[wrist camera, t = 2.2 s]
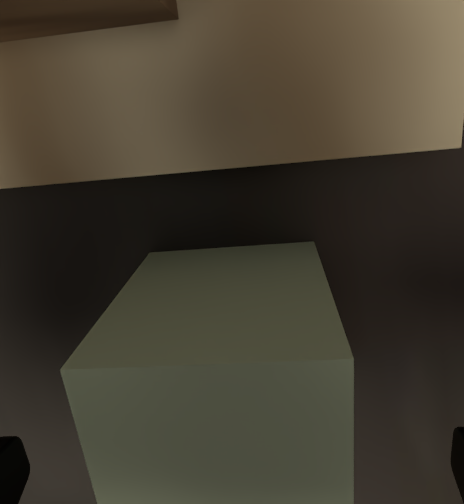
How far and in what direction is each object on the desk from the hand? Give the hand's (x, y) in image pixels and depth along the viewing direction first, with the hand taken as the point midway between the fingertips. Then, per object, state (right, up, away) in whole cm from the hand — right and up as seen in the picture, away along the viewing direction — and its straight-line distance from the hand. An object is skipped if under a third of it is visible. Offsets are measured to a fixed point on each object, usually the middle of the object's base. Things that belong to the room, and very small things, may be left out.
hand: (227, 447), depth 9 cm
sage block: (0, +2, +5) cm, 5 cm away
